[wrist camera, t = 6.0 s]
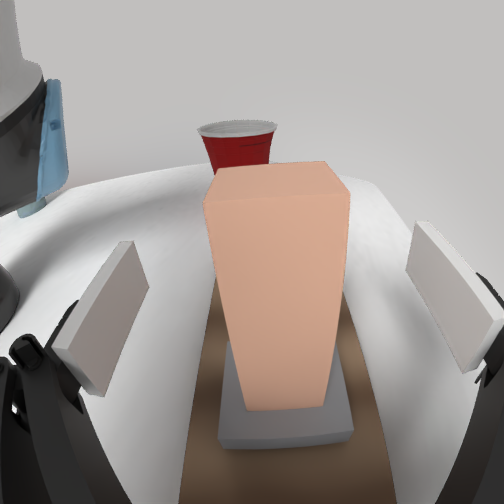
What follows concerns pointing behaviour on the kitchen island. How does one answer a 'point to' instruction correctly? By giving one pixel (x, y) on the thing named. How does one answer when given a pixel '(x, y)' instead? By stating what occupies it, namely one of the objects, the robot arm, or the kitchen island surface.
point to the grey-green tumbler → (31, 208)
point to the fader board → (285, 459)
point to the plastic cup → (237, 142)
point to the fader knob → (280, 303)
